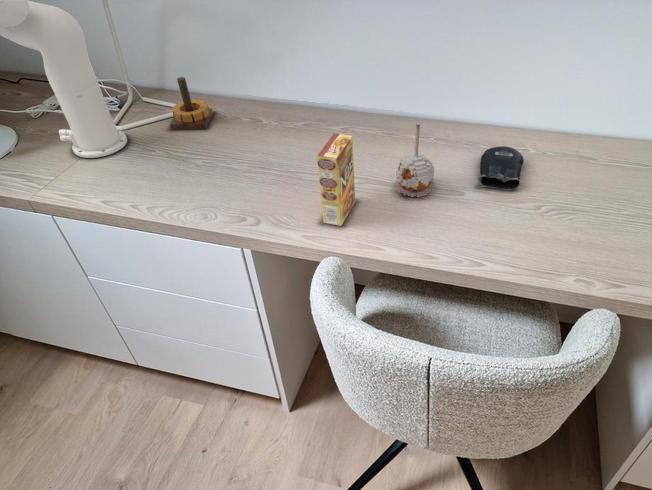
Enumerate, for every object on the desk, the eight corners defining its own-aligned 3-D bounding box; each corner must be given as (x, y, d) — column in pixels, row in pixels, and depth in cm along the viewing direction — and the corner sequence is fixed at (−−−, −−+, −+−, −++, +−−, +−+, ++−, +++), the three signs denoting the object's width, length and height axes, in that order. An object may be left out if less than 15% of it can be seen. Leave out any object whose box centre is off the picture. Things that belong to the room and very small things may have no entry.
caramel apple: (390, 183, 108) (391, 119, 98) (421, 175, 110) (426, 112, 100) (405, 202, 103) (408, 136, 92) (438, 193, 105) (445, 128, 94)
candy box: (342, 227, 97) (338, 158, 87) (322, 223, 98) (315, 155, 88) (356, 202, 103) (353, 135, 93) (337, 198, 104) (332, 132, 94)
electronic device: (521, 197, 106) (523, 154, 115) (522, 177, 102) (525, 133, 111) (476, 196, 108) (482, 154, 117) (476, 176, 104) (482, 134, 113)
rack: (171, 129, 128) (157, 86, 120) (180, 114, 134) (168, 71, 127) (205, 129, 128) (194, 85, 120) (213, 113, 134) (202, 71, 126)
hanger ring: (169, 123, 127) (167, 115, 126) (178, 107, 134) (176, 100, 133) (206, 121, 128) (204, 114, 126) (212, 106, 134) (211, 99, 133)
